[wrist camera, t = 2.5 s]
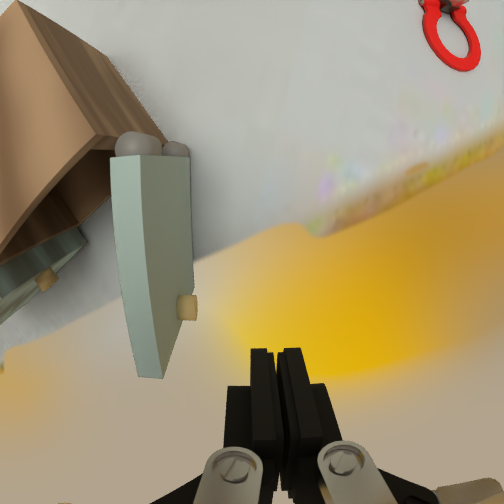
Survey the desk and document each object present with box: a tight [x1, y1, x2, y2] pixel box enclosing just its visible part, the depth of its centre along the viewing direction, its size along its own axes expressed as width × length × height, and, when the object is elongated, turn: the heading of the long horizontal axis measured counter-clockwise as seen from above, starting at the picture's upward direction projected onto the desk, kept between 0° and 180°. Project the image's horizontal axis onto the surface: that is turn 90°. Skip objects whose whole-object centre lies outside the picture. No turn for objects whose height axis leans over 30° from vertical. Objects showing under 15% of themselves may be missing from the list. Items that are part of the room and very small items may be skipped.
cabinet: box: [0, 0, 168, 325], centre depth 19 cm, size 24×15×15 cm, turn 125°
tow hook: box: [419, 0, 481, 71], centre depth 16 cm, size 8×13×9 cm
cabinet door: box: [110, 131, 197, 379], centre depth 20 cm, size 13×3×13 cm, turn 0°
